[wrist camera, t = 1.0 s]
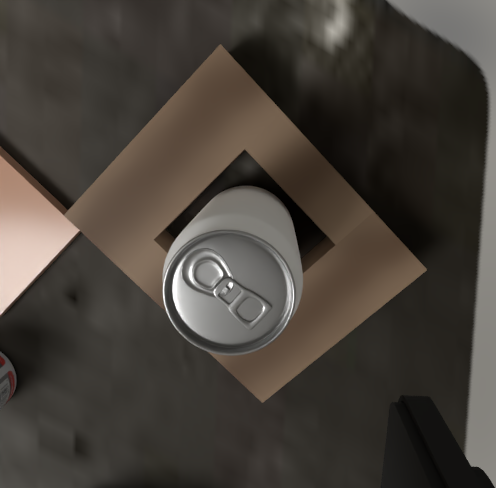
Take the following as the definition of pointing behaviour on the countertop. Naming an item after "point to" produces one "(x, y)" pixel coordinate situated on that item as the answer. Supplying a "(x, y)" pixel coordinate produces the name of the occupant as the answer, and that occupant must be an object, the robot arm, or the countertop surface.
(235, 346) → the can
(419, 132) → the countertop surface
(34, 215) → the tile
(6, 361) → the pill bottle
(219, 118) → the well board
